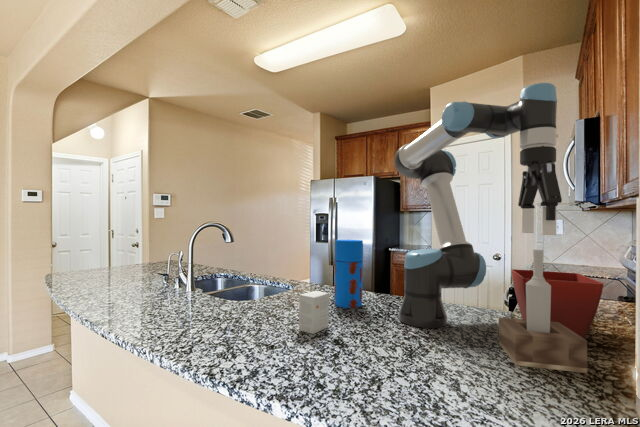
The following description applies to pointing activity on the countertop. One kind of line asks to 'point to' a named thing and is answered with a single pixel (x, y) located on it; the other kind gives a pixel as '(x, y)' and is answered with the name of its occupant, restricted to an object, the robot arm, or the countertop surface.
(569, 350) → the socket block
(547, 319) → the bottle
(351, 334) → the countertop surface
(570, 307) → the plant pot
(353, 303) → the thermos
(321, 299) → the small box
